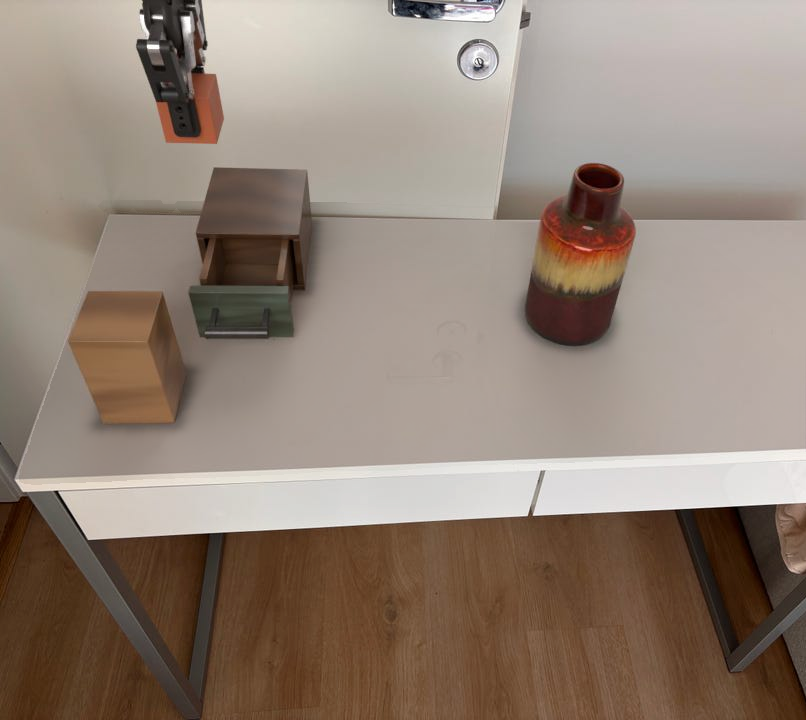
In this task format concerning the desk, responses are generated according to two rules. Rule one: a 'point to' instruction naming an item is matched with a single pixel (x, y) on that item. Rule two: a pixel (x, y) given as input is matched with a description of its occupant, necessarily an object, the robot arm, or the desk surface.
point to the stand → (129, 356)
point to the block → (206, 109)
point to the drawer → (245, 289)
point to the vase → (580, 258)
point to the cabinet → (259, 210)
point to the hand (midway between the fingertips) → (193, 119)
